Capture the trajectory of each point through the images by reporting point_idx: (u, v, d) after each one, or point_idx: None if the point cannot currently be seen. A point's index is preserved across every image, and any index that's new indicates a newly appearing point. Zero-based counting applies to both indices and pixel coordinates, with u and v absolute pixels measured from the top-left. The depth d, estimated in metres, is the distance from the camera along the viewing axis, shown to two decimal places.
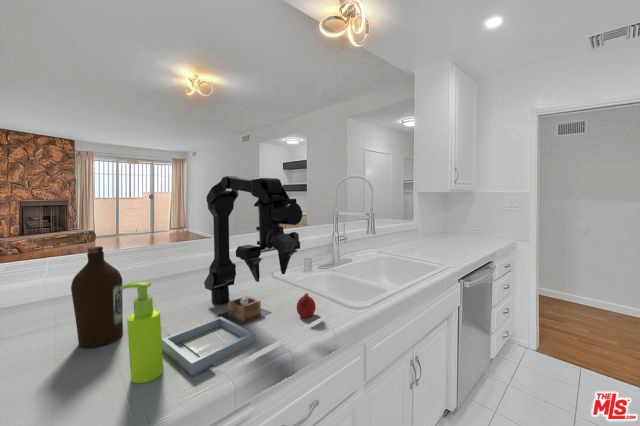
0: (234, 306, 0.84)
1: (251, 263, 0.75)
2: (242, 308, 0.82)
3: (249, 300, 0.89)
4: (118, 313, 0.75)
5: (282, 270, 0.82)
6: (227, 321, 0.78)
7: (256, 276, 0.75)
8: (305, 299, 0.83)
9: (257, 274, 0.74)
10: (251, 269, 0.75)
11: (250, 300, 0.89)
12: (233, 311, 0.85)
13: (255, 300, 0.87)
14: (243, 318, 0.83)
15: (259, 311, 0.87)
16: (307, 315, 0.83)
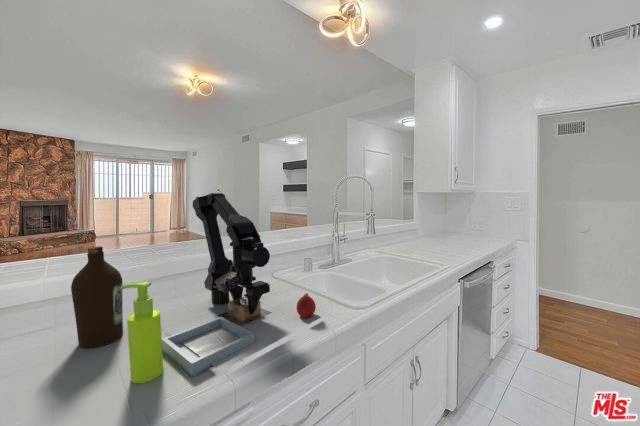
0: (234, 306, 0.84)
1: None
2: (242, 308, 0.82)
3: None
4: (118, 313, 0.75)
5: None
6: (227, 321, 0.78)
7: None
8: (305, 299, 0.83)
9: None
10: None
11: None
12: (233, 311, 0.85)
13: None
14: (243, 318, 0.83)
15: (259, 311, 0.87)
16: (307, 315, 0.83)
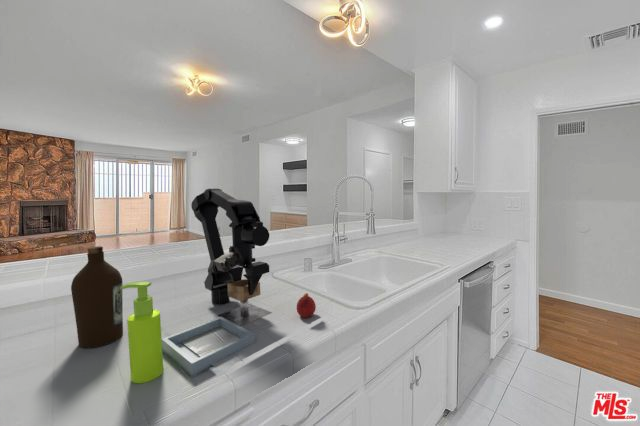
0: (233, 287, 0.84)
1: None
2: (241, 288, 0.82)
3: None
4: (118, 313, 0.75)
5: None
6: (227, 321, 0.78)
7: None
8: (305, 299, 0.83)
9: None
10: None
11: None
12: (232, 292, 0.84)
13: None
14: (242, 299, 0.82)
15: (259, 293, 0.87)
16: (307, 315, 0.83)
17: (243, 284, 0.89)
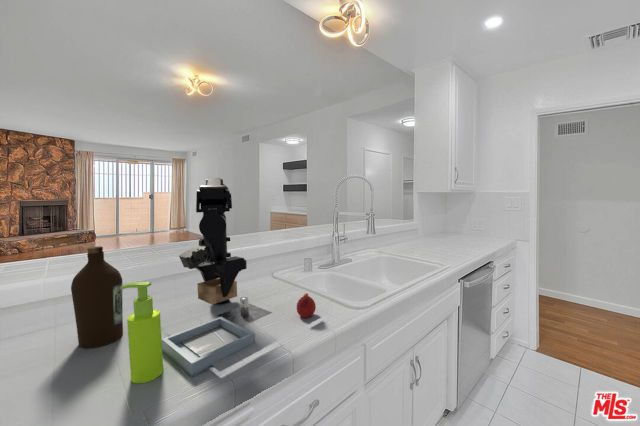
0: (204, 287, 0.70)
1: None
2: (213, 289, 0.68)
3: None
4: (118, 313, 0.75)
5: None
6: (227, 321, 0.78)
7: None
8: (305, 299, 0.83)
9: None
10: None
11: None
12: (203, 293, 0.70)
13: None
14: (214, 301, 0.68)
15: (235, 294, 0.73)
16: (307, 315, 0.83)
17: (217, 284, 0.75)
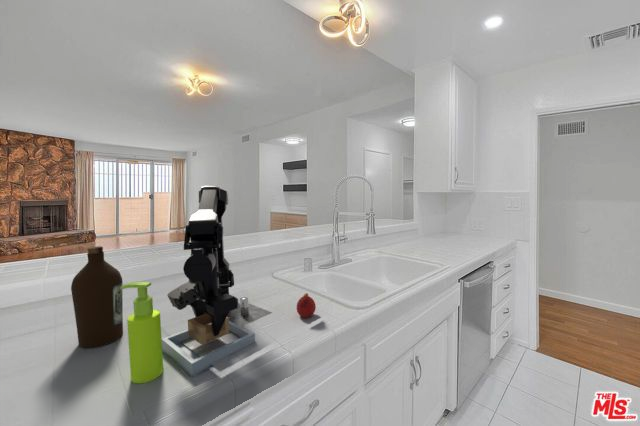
0: (194, 325, 0.67)
1: None
2: (203, 329, 0.65)
3: None
4: (118, 313, 0.75)
5: None
6: None
7: None
8: (305, 299, 0.83)
9: None
10: None
11: None
12: (193, 332, 0.67)
13: None
14: (204, 341, 0.65)
15: (227, 331, 0.70)
16: (307, 315, 0.83)
17: (209, 319, 0.72)
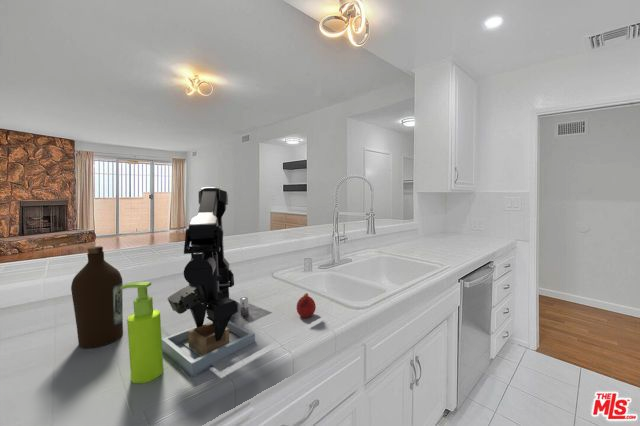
0: (194, 337, 0.67)
1: None
2: (203, 340, 0.65)
3: None
4: (118, 313, 0.75)
5: None
6: None
7: None
8: (304, 299, 0.83)
9: None
10: None
11: None
12: (193, 343, 0.67)
13: None
14: (205, 353, 0.65)
15: (227, 342, 0.70)
16: (307, 315, 0.83)
17: (209, 329, 0.72)
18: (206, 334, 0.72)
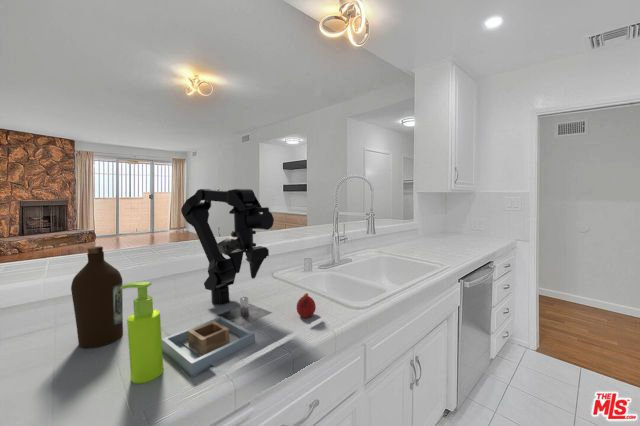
0: (194, 337, 0.67)
1: None
2: (203, 340, 0.65)
3: (216, 327, 0.72)
4: (118, 313, 0.75)
5: None
6: (227, 321, 0.78)
7: None
8: (305, 299, 0.83)
9: (234, 266, 0.94)
10: None
11: (217, 327, 0.72)
12: (193, 343, 0.67)
13: (222, 328, 0.70)
14: (205, 353, 0.65)
15: (227, 342, 0.70)
16: (307, 315, 0.83)
17: (209, 329, 0.72)
18: (206, 334, 0.72)
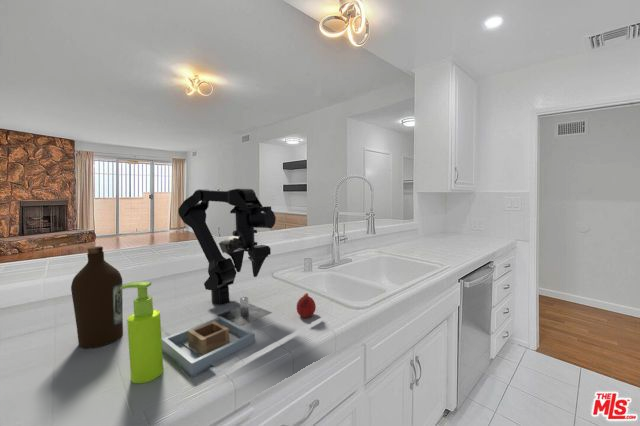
0: (194, 337, 0.67)
1: None
2: (203, 340, 0.65)
3: (216, 327, 0.72)
4: (118, 313, 0.75)
5: None
6: (227, 321, 0.78)
7: None
8: (305, 299, 0.83)
9: (235, 265, 0.94)
10: None
11: (217, 327, 0.72)
12: (193, 343, 0.67)
13: (222, 328, 0.70)
14: (205, 353, 0.65)
15: (227, 342, 0.70)
16: (307, 315, 0.83)
17: (209, 329, 0.72)
18: (206, 334, 0.72)
